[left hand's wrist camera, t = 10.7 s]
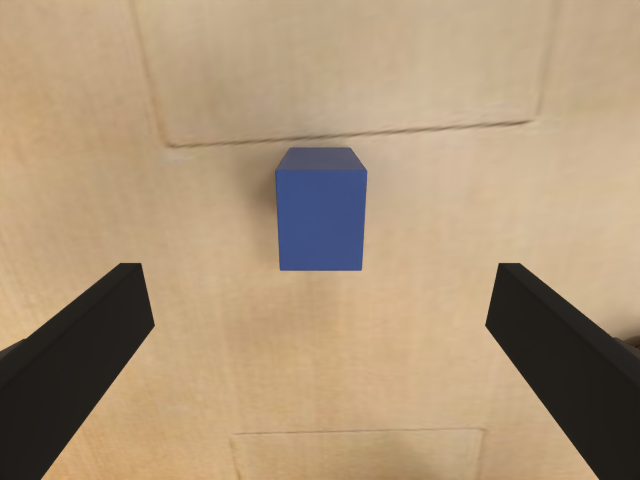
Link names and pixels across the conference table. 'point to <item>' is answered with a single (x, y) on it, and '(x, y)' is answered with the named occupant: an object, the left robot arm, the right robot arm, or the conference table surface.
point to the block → (321, 210)
